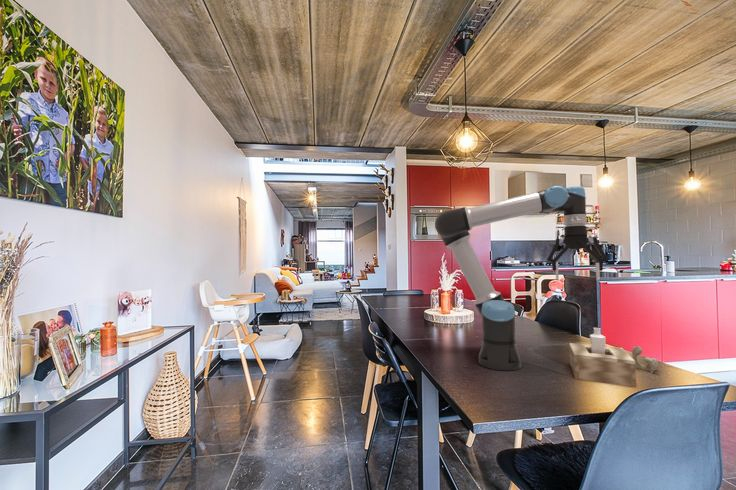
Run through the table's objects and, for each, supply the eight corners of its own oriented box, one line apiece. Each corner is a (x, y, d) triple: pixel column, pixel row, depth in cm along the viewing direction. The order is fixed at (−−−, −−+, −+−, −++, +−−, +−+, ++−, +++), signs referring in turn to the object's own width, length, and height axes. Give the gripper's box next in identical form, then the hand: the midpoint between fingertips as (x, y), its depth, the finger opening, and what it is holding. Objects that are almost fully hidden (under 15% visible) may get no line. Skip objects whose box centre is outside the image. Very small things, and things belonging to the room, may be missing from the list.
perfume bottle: (587, 370, 112) (585, 327, 112) (597, 369, 113) (595, 326, 113) (599, 375, 107) (597, 330, 108) (609, 373, 108) (607, 329, 109)
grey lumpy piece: (672, 369, 110) (657, 344, 110) (661, 380, 109) (645, 355, 109) (646, 362, 119) (632, 340, 118) (635, 373, 117) (621, 350, 117)
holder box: (575, 378, 107) (574, 354, 107) (570, 364, 121) (569, 342, 121) (636, 386, 99) (635, 360, 100) (623, 370, 114) (622, 347, 114)
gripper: (539, 226, 130) (541, 279, 129) (616, 223, 118) (618, 280, 118) (539, 228, 136) (541, 278, 136) (611, 224, 125) (613, 279, 124)
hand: (577, 279), depth 127 cm, fingers open, 13 cm apart
